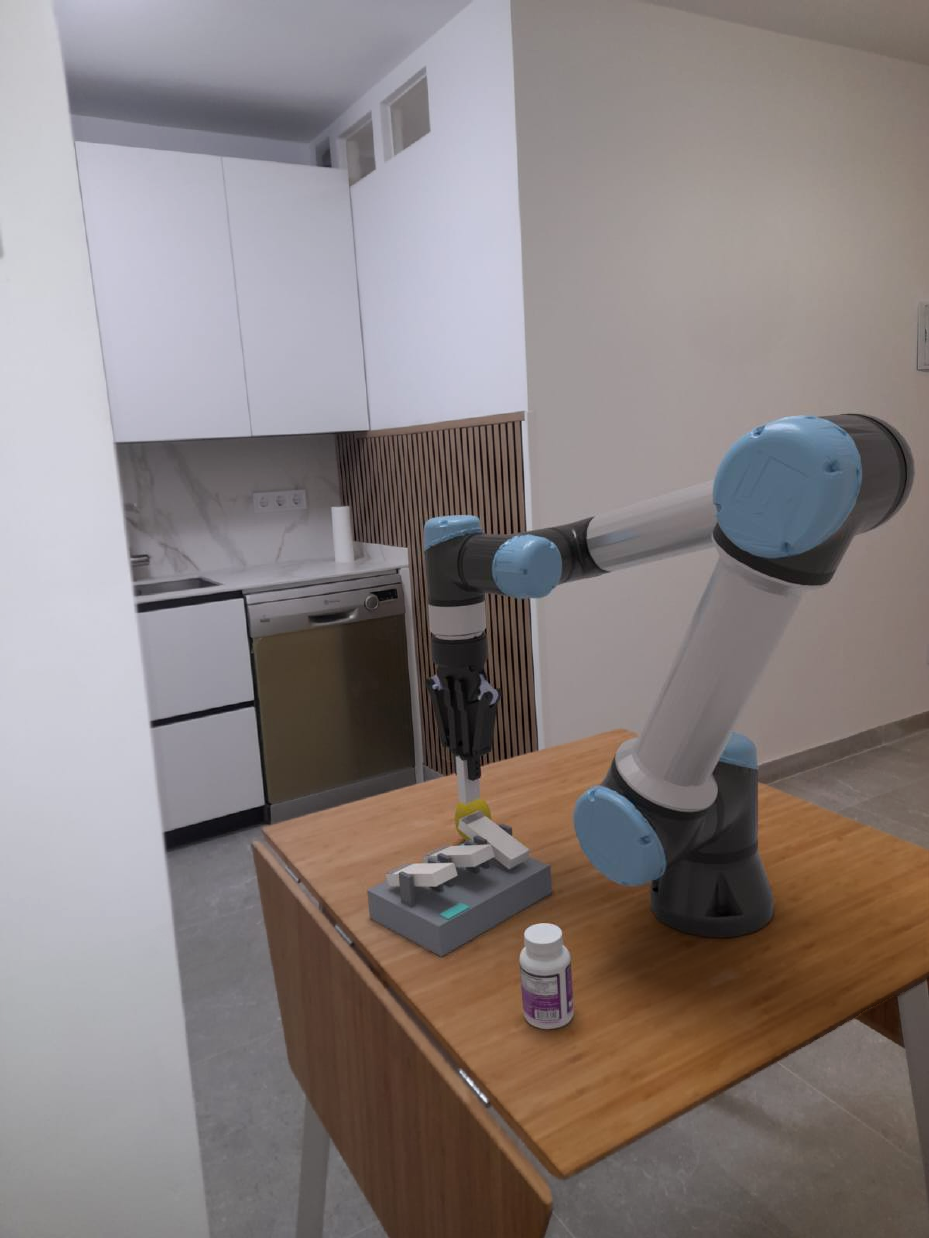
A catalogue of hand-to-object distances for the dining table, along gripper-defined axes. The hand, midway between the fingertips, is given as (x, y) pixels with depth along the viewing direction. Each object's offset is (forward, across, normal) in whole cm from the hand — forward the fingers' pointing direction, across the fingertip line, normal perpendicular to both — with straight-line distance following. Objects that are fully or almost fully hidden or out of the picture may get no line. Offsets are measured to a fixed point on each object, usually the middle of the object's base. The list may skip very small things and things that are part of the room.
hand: (469, 799), depth 125 cm
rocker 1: (+5, -4, +13) cm, 14 cm away
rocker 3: (+5, -4, 0) cm, 6 cm away
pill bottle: (+12, -28, +16) cm, 35 cm away
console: (+12, -4, +6) cm, 14 cm away
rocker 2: (+5, -4, +6) cm, 9 cm away
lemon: (+12, +8, -8) cm, 16 cm away
